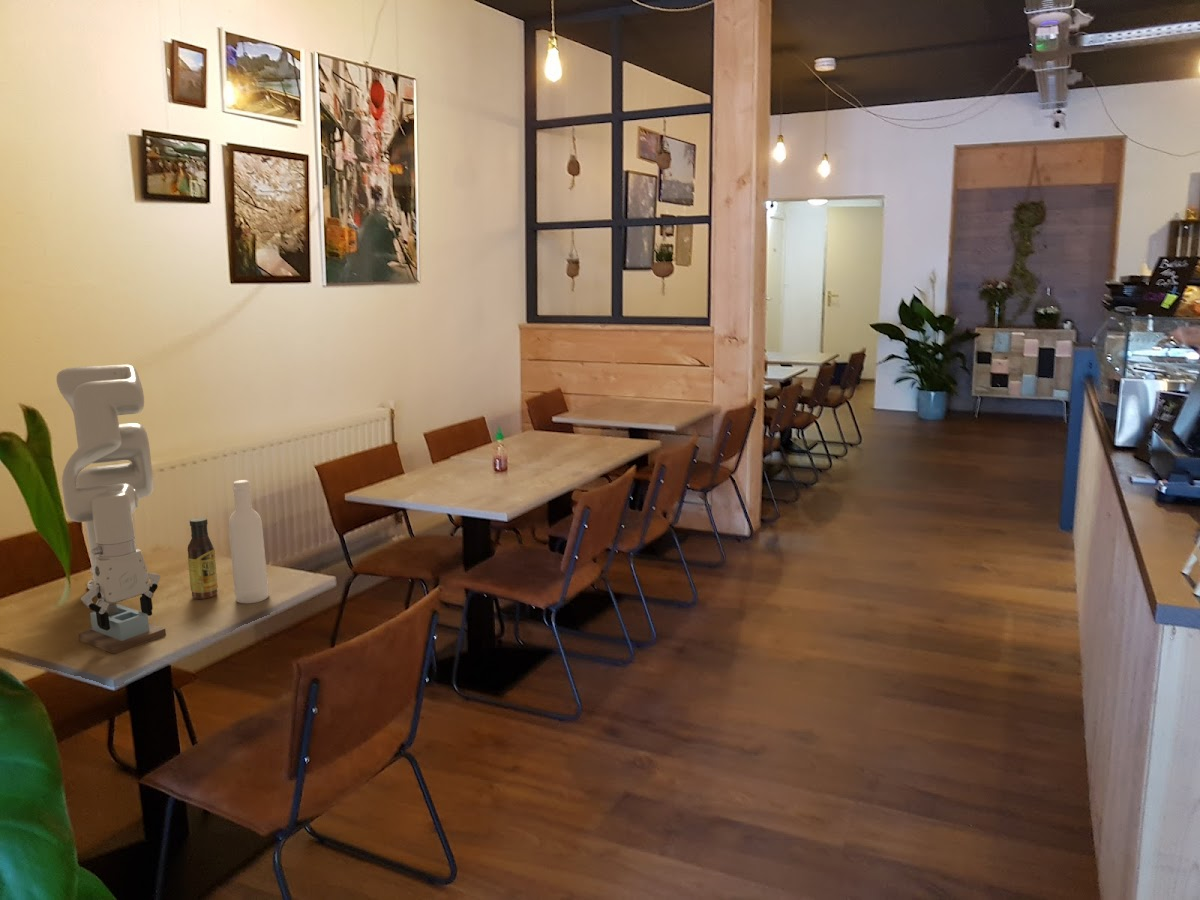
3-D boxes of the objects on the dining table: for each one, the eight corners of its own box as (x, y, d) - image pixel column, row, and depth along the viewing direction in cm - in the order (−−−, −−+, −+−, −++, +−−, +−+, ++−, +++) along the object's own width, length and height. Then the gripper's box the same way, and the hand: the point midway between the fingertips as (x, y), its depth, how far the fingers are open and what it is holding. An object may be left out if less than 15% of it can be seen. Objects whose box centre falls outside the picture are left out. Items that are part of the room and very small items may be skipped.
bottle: (243, 592, 233) (232, 477, 227) (274, 592, 232) (263, 477, 226) (230, 604, 225) (217, 485, 219) (261, 603, 225) (250, 485, 219)
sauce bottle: (208, 600, 227) (200, 523, 223) (186, 599, 228) (177, 522, 225) (224, 591, 234) (216, 516, 230) (202, 590, 235) (194, 515, 231)
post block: (79, 640, 204) (74, 604, 203) (131, 622, 214) (126, 588, 212) (113, 653, 197) (108, 616, 195) (166, 634, 207) (161, 599, 205)
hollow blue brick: (92, 629, 206) (89, 613, 205) (119, 620, 212) (117, 604, 211) (121, 640, 200) (119, 623, 199) (149, 631, 205) (147, 614, 204)
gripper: (86, 561, 191) (96, 638, 194) (163, 540, 205) (172, 612, 208) (67, 555, 195) (77, 631, 198) (144, 535, 209) (153, 606, 212)
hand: (126, 621), depth 203 cm, fingers open, 9 cm apart
